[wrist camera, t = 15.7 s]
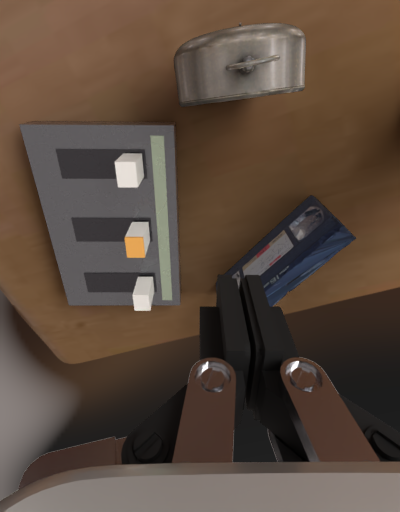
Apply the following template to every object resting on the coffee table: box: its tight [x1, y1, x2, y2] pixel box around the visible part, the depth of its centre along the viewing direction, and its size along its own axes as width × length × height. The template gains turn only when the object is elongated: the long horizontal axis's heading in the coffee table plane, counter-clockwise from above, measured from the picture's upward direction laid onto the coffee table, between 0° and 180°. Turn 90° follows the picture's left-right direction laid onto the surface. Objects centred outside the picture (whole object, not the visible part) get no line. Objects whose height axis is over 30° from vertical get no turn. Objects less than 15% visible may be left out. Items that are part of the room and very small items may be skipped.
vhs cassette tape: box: [216, 195, 356, 307], centre depth 38 cm, size 18×3×10 cm, turn 138°
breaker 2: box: [133, 277, 154, 311], centre depth 39 cm, size 2×2×4 cm
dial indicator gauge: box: [174, 22, 306, 107], centre depth 24 cm, size 11×5×16 cm, turn 97°
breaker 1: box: [115, 153, 144, 187], centre depth 31 cm, size 2×2×4 cm
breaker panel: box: [19, 121, 181, 305], centre depth 38 cm, size 16×24×3 cm, turn 0°
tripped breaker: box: [125, 222, 150, 258], centre depth 35 cm, size 2×2×4 cm
